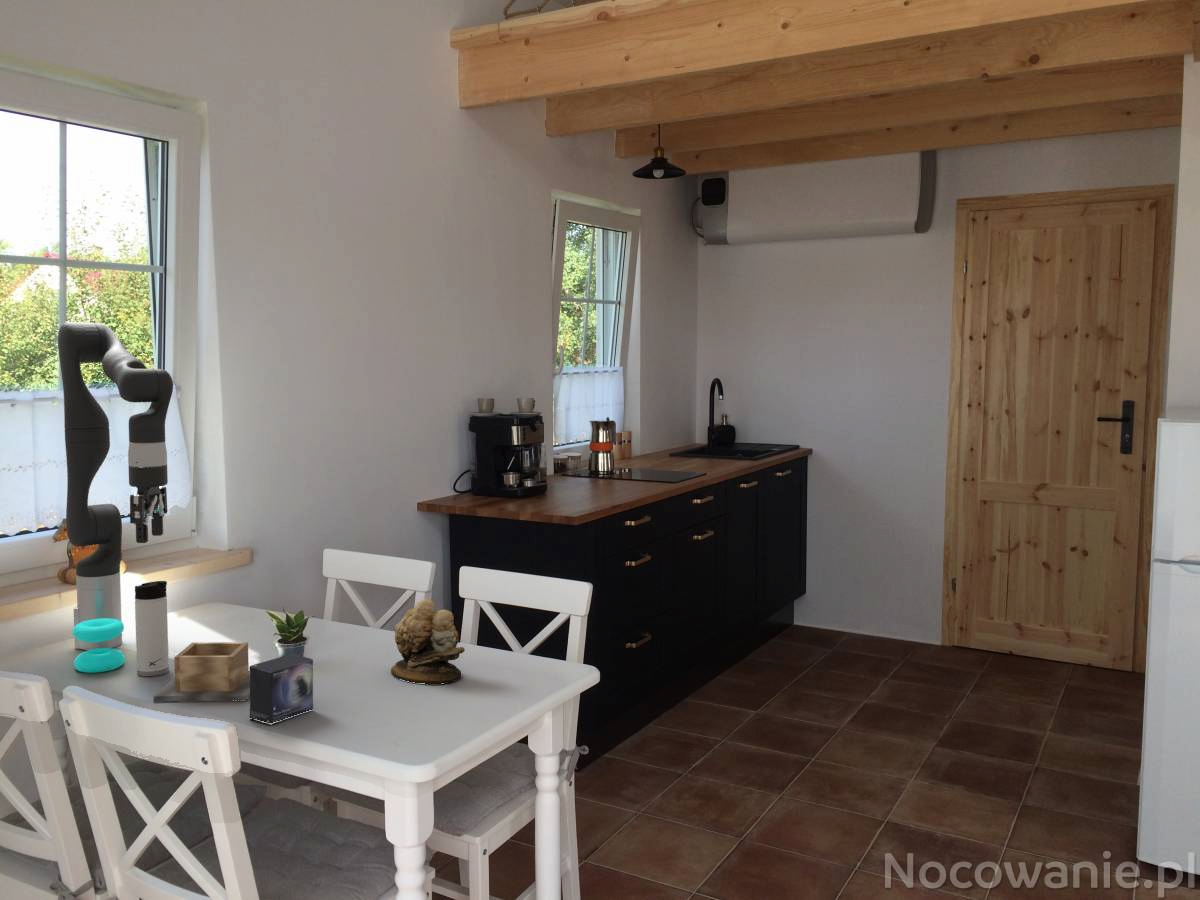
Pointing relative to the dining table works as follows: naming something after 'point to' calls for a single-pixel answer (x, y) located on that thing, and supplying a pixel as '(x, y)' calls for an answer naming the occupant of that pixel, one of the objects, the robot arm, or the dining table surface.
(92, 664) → the donuts
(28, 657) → the dining table surface
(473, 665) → the dining table surface
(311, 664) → the small box
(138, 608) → the travel mug
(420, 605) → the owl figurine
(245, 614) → the dining table surface
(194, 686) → the box
